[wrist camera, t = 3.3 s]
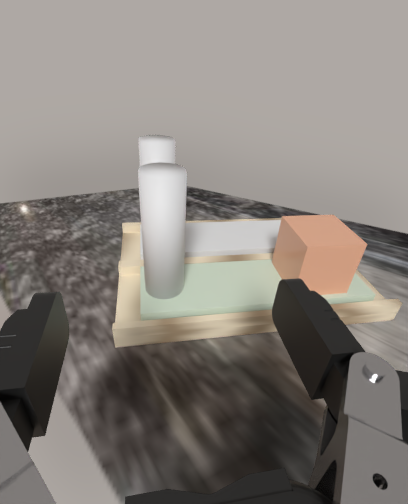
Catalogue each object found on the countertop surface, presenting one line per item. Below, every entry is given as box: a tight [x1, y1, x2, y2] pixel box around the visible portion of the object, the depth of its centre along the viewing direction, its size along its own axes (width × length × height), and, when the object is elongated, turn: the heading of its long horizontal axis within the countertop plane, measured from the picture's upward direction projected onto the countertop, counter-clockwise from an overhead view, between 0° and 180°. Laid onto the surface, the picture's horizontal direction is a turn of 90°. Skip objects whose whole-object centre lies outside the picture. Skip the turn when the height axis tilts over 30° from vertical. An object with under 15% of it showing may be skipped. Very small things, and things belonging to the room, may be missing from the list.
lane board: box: [112, 218, 402, 348], centre depth 31 cm, size 24×16×2 cm, turn 100°
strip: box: [138, 135, 281, 260], centre depth 31 cm, size 20×6×11 cm, turn 100°
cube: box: [272, 215, 367, 295], centre depth 26 cm, size 5×5×5 cm
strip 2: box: [138, 162, 376, 321], centre depth 24 cm, size 20×6×11 cm, turn 100°
